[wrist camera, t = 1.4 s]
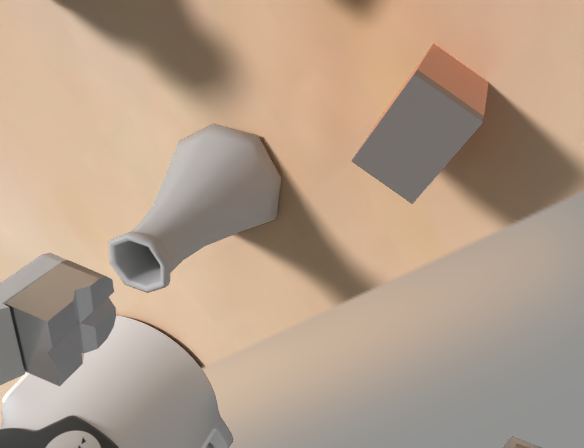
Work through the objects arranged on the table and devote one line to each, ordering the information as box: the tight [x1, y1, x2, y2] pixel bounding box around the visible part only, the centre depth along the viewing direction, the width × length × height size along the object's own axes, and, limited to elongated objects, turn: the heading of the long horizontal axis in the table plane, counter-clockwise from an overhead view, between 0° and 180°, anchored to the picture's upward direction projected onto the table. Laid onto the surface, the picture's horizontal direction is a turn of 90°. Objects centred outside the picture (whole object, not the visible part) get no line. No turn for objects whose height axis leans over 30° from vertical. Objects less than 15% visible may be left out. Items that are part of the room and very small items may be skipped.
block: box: [352, 44, 489, 204], centre depth 24 cm, size 4×3×6 cm
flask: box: [108, 124, 281, 293], centre depth 28 cm, size 7×7×10 cm
